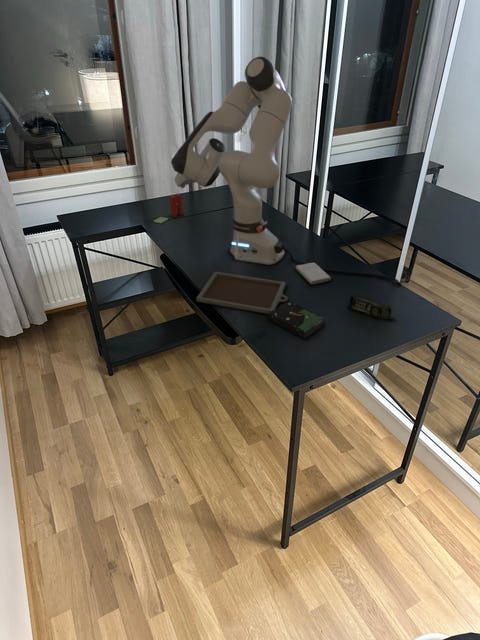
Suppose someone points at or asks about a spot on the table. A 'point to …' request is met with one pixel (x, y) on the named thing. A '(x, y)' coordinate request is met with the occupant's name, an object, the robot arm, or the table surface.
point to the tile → (160, 219)
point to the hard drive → (313, 273)
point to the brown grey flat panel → (243, 292)
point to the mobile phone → (370, 307)
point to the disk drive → (296, 319)
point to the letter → (176, 205)
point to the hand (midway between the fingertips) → (190, 184)
